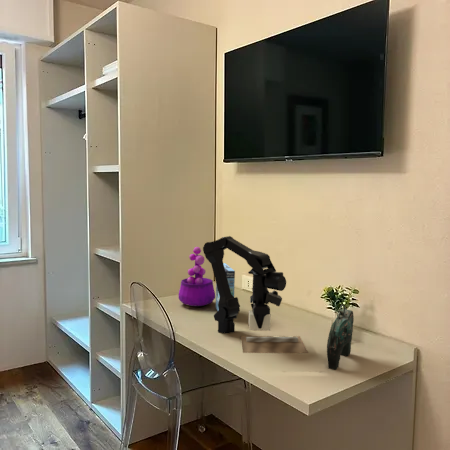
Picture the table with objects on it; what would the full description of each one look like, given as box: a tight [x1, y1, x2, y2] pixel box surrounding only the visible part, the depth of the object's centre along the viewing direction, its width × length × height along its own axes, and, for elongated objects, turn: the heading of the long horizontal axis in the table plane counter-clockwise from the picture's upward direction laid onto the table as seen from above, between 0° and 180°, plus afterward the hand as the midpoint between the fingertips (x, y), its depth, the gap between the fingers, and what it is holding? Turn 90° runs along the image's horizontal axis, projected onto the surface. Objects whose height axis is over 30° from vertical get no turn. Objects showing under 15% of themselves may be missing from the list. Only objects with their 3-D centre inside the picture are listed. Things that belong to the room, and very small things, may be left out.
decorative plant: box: [178, 246, 216, 307], centre depth 235 cm, size 19×19×30 cm
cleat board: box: [240, 335, 309, 354], centre depth 177 cm, size 24×18×3 cm
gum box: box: [215, 262, 236, 312], centre depth 220 cm, size 20×5×23 cm, turn 13°
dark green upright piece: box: [326, 303, 355, 371], centre depth 164 cm, size 20×6×20 cm, turn 150°
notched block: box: [248, 309, 272, 331], centre depth 180 cm, size 8×6×6 cm
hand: (259, 325), depth 180 cm, fingers closed on notched block, 6 cm apart
